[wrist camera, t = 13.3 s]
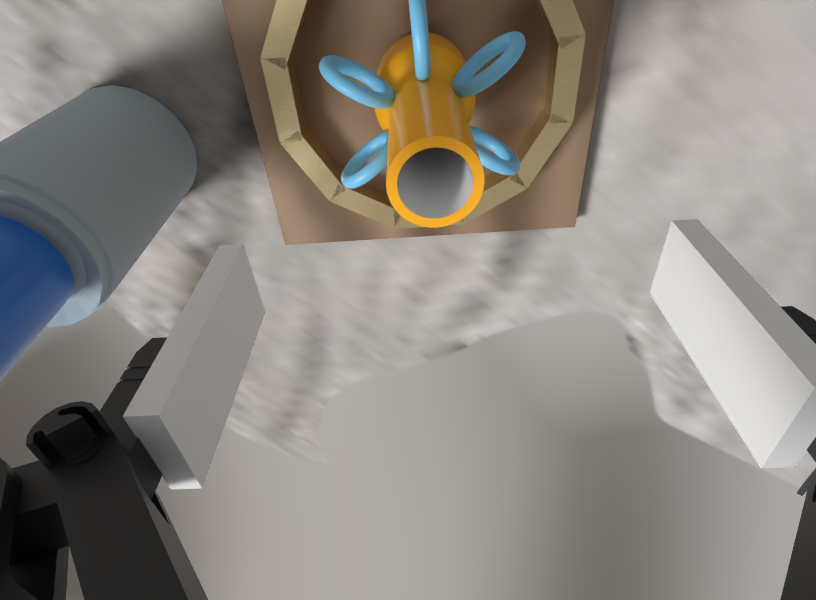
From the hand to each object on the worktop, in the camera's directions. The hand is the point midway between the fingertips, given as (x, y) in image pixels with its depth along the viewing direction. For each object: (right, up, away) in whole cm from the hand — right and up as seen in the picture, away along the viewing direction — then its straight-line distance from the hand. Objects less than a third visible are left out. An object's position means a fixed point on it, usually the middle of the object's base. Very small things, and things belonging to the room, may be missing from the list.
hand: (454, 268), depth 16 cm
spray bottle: (-21, +10, +20) cm, 31 cm away
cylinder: (-1, +13, +16) cm, 21 cm away
